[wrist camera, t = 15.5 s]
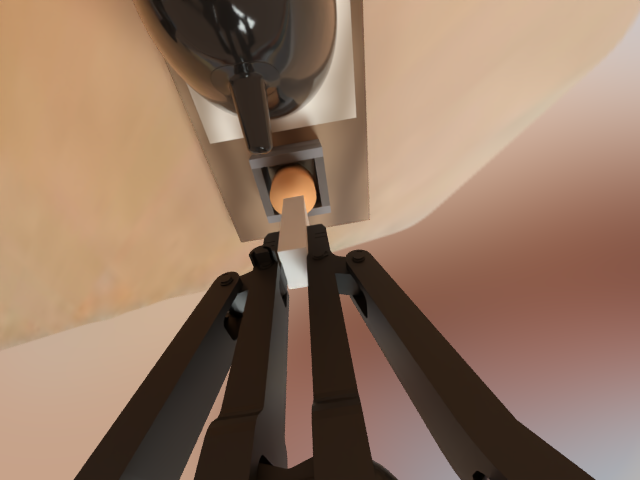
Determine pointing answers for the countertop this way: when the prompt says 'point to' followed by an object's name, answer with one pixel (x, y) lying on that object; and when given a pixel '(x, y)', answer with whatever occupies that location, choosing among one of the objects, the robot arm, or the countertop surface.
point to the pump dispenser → (247, 54)
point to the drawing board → (296, 143)
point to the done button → (292, 186)
